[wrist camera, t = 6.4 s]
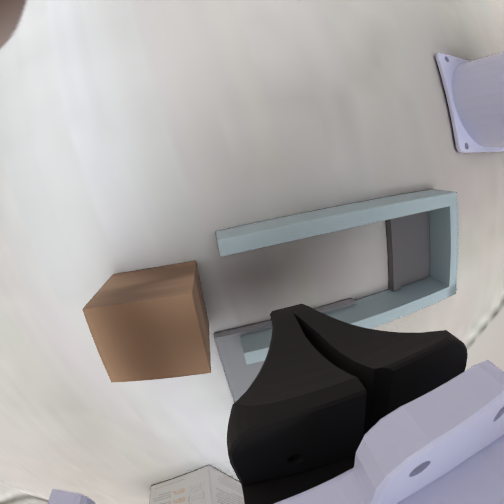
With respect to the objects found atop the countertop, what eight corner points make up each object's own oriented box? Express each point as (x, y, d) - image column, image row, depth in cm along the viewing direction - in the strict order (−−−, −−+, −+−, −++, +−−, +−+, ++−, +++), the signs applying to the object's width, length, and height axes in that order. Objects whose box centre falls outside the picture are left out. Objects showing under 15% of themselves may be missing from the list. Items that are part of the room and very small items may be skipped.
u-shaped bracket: (432, 189, 17) (456, 192, 15) (434, 282, 19) (455, 293, 17) (215, 231, 16) (216, 240, 14) (241, 342, 18) (246, 364, 16)
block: (195, 260, 16) (192, 293, 12) (208, 323, 17) (210, 372, 13) (113, 273, 16) (82, 309, 11) (131, 333, 17) (111, 382, 12)
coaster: (351, 297, 18) (355, 301, 18) (353, 395, 21) (356, 399, 20) (214, 333, 18) (214, 338, 17) (243, 427, 20) (244, 432, 19)
